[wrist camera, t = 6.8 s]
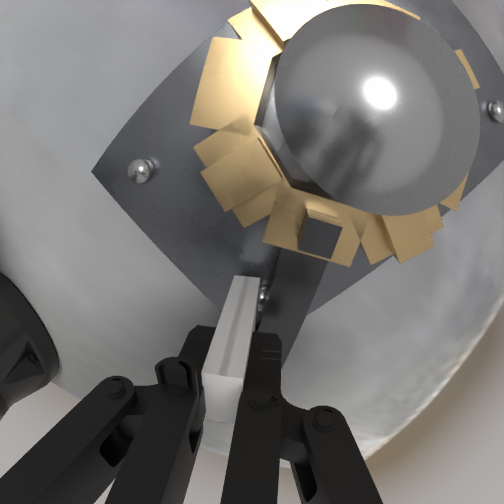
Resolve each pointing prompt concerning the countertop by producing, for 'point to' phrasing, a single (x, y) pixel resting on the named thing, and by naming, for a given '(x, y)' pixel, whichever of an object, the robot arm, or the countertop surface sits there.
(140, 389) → the robot arm
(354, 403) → the countertop surface
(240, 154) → the ring nut
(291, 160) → the flange
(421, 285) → the countertop surface
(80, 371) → the countertop surface
